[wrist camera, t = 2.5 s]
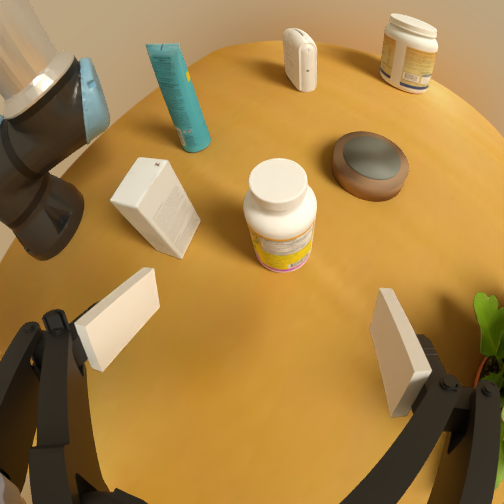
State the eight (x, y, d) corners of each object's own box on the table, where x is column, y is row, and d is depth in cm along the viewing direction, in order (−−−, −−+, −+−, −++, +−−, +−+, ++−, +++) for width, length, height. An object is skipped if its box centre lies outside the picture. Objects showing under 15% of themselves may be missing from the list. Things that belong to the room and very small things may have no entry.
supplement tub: (432, 87, 46) (447, 31, 30) (417, 101, 43) (433, 35, 28) (391, 65, 50) (398, 10, 35) (369, 76, 48) (376, 12, 33)
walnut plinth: (317, 158, 38) (318, 142, 35) (371, 138, 39) (375, 123, 36) (362, 213, 33) (367, 198, 30) (416, 185, 34) (423, 171, 31)
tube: (222, 139, 42) (193, 35, 25) (205, 158, 41) (166, 51, 24) (189, 130, 45) (155, 38, 28) (172, 147, 43) (129, 54, 26)
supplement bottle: (261, 220, 35) (247, 146, 23) (314, 228, 33) (323, 153, 22) (249, 269, 32) (226, 207, 21) (306, 279, 31) (315, 219, 19)
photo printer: (319, 91, 46) (320, 37, 35) (298, 94, 46) (296, 39, 35) (301, 70, 51) (299, 23, 39) (283, 72, 51) (278, 25, 40)
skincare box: (175, 214, 37) (139, 155, 26) (202, 221, 36) (169, 158, 25) (155, 252, 35) (107, 200, 24) (182, 261, 34) (137, 208, 23)
